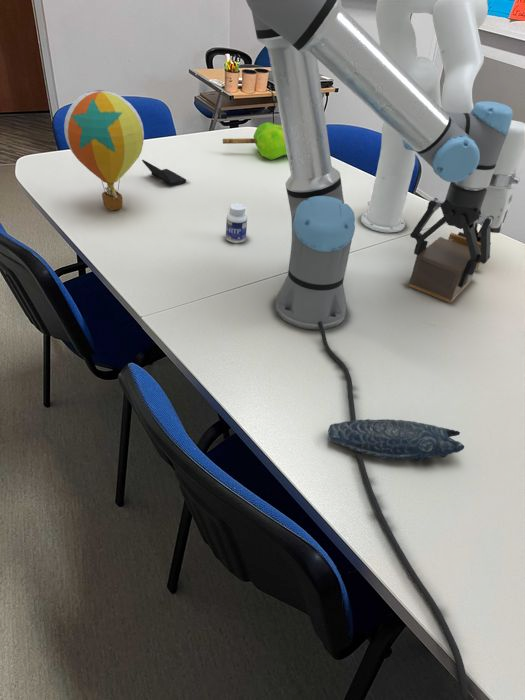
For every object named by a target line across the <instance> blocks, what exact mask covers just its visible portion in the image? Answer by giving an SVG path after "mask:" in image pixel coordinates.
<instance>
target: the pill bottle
mask: <svg viewBox="0 0 525 700" xmlns="http://www.w3.org/2000/svg"><path fill="white" fill-rule="evenodd" d="M225 222H226V226H225V239H226V240H227V241H228V242H231V243H235V244H238V243H243V242H245V241H246V238H247V227H248V216H247V214H246V206H245V205H244V204H243V203H231V204H230V205H229V212H228V213H227V214H226V221H225Z"/></svg>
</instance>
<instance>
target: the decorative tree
mask: <svg viewBox="0 0 525 700" xmlns="http://www.w3.org/2000/svg"><path fill="white" fill-rule="evenodd" d="M222 144H224V145H225V144H227V145H229V144H230V145H232V144H233V145H234V144H255V146H256V148H257V150H258V152H259V154H260V156H262V157H264V158H266V159H268V160H270V161H273V160H275V159H277V158H280V157H282V156H287V151H286V145H285V140H284V135H283V129H282V124H275V123H273V122H269V121H266V122H263V123H261V124H260V125H258V126H257V127H256V130H255V131H254V134H253V137H252V138H222Z"/></svg>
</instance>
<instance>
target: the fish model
mask: <svg viewBox="0 0 525 700" xmlns="http://www.w3.org/2000/svg"><path fill="white" fill-rule="evenodd" d="M327 432H328V438H327V441H328V442H333V443H335V444H336V445H337V444H338V445H340V446H342V447H343V448H347V449H349V450H351V451H355V452H356V451H358V452H360V453H362V455H363V454H364V455H365V454H366V455H368V456H374V457H376V458H378V459H379V458H380V459H386V460H396V461H400V460H408V459H414V460H416V459H417V460H418V461H426V460H428V458H431V457H436V456H437V457H439V458H447V456H449V455H452V454H454V453H460V452H461V451H463V450H464V449H465V445H464V444H463V443H461V442H460V441H459V440H455V439H454V438H453V437H457V436H459V435H460V434H461V432H460V431H459V430H454V429H449V428H446V427H442V426H441V427H440V426H436V425H434V424H428V423H424V422H417V421H412V420H403V419H397V420H396V419H390V418H388V419H387V418H386V419H385V418H384V419H370V418H367V419H356V420H352V421H351V420H348V421H343V422H338V423H332V424H330V425H329V426H328V430H327Z"/></svg>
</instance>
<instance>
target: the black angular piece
mask: <svg viewBox="0 0 525 700" xmlns="http://www.w3.org/2000/svg"><path fill="white" fill-rule="evenodd" d="M141 161H142V163H143V164H144V165H145V167H147V169H148V170H149V171H150V172H151V174H150V175H151V176H153V177H155V178H156V179H158V180H160V181H162V182H163V183H165V184H167V185H168V186H170V187H172V186H177V185H180V184H184V183H185V184H186V183H187V179H186V178H184V177H183V176H181V175H179V174H177V173H175V172H173V171H172V170H170V169H168V168H164V169H161V168H159V167H157V166H155V165H153V164H151V163H150V162H148V161H146V160H145V159H142V160H141Z"/></svg>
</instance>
